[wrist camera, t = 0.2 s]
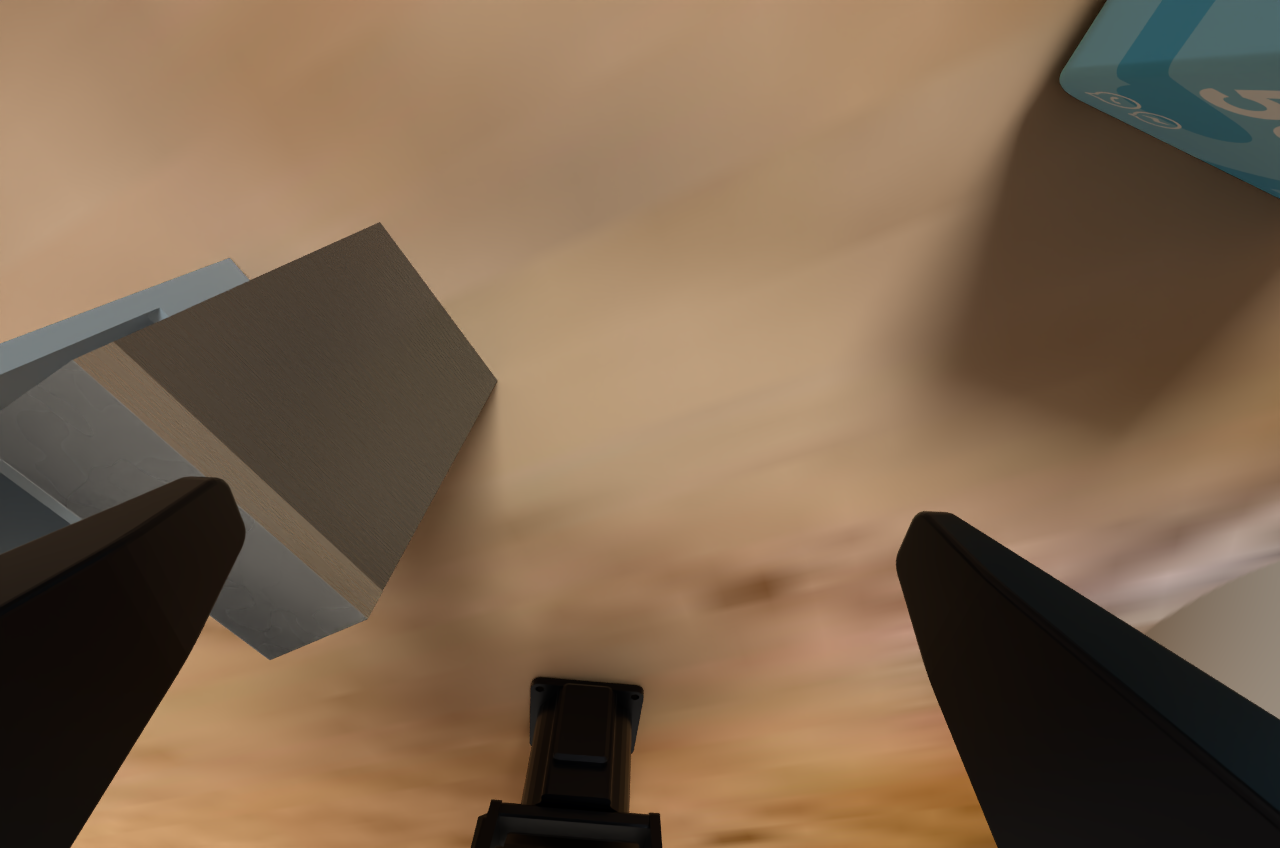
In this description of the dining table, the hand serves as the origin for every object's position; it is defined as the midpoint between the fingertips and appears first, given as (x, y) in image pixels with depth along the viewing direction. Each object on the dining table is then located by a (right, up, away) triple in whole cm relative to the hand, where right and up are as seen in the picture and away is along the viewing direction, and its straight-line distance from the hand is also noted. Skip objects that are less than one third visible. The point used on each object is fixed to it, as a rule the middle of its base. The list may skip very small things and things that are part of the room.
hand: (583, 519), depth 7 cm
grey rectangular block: (-8, +5, +14) cm, 17 cm away
